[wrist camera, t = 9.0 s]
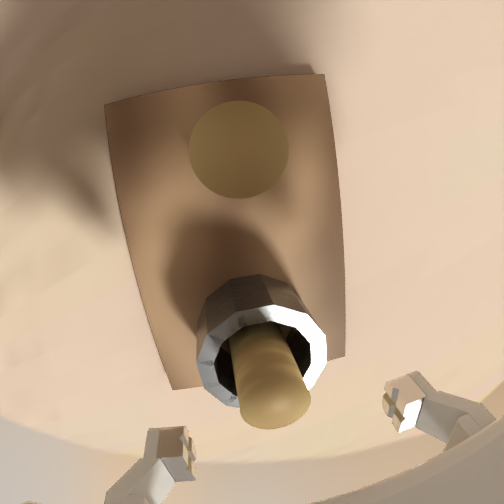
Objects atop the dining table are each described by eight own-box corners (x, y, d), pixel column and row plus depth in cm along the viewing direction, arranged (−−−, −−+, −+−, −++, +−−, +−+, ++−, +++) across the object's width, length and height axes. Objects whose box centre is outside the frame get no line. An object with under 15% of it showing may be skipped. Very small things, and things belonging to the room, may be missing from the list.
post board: (318, 78, 16) (390, 33, 8) (339, 348, 21) (391, 423, 14) (109, 107, 15) (43, 74, 7) (173, 381, 20) (166, 472, 13)
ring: (299, 265, 18) (323, 293, 14) (307, 355, 20) (326, 393, 16) (188, 287, 17) (184, 320, 14) (211, 375, 19) (214, 418, 15)
